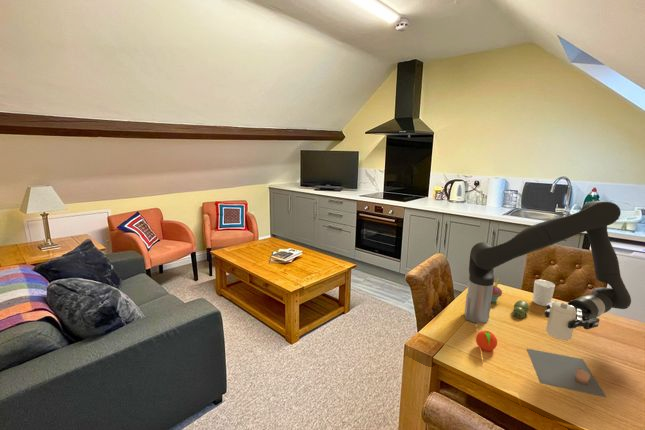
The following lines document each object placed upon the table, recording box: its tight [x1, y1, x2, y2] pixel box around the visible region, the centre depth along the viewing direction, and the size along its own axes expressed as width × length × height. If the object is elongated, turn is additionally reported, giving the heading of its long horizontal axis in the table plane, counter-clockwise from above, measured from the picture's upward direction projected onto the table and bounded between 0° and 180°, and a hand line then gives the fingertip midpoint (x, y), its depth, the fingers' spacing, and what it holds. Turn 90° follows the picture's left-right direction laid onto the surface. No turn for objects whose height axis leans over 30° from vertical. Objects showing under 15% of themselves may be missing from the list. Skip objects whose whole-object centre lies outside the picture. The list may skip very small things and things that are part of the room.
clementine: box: [475, 330, 498, 352], centre depth 116 cm, size 8×7×7 cm
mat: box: [525, 348, 607, 398], centre depth 106 cm, size 17×18×1 cm
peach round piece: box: [575, 369, 590, 385], centre depth 101 cm, size 3×3×3 cm
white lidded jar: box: [545, 301, 577, 341], centre depth 105 cm, size 6×6×11 cm
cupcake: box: [491, 277, 503, 303], centre depth 152 cm, size 9×8×12 cm
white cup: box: [532, 279, 556, 307], centre depth 149 cm, size 8×8×10 cm
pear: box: [511, 300, 530, 320], centre depth 141 cm, size 6×5×10 cm
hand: (557, 319), depth 104 cm, fingers closed on white lidded jar, 6 cm apart
